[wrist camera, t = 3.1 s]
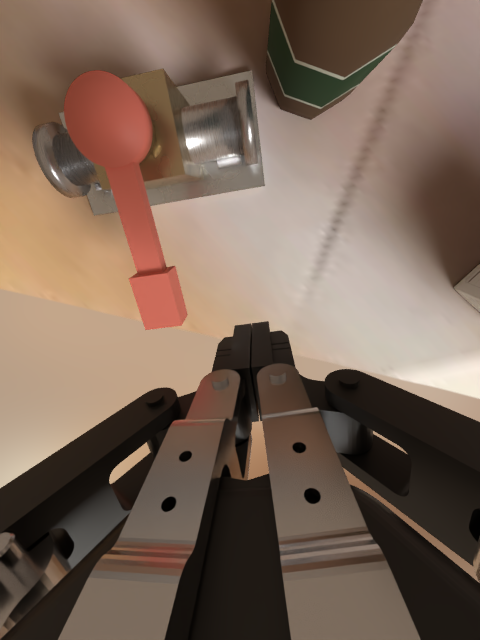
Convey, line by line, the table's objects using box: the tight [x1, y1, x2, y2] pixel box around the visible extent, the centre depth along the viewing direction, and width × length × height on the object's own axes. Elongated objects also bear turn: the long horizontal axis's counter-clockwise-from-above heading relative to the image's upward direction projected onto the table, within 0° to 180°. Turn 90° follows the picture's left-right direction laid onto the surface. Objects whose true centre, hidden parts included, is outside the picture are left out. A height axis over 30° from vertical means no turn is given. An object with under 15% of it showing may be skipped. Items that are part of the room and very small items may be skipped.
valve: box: [32, 69, 265, 216], centre depth 22 cm, size 9×18×11 cm, turn 99°
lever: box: [64, 70, 187, 330], centre depth 19 cm, size 15×5×2 cm, turn 9°
